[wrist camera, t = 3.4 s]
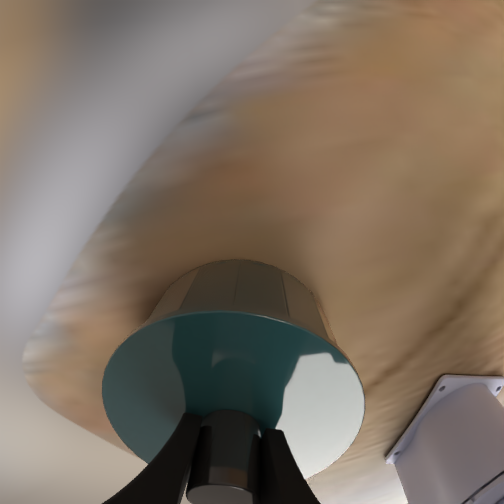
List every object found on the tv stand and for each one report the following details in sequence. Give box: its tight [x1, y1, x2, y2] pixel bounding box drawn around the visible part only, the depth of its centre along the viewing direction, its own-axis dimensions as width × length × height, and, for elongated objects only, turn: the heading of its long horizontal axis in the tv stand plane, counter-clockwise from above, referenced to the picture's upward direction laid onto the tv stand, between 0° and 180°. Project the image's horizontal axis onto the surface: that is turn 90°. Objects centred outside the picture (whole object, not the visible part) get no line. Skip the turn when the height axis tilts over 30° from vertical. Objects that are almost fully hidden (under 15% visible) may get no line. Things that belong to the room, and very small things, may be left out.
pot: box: [146, 259, 338, 345], centre depth 14 cm, size 10×10×6 cm
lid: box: [102, 305, 365, 504], centre depth 10 cm, size 11×11×5 cm
